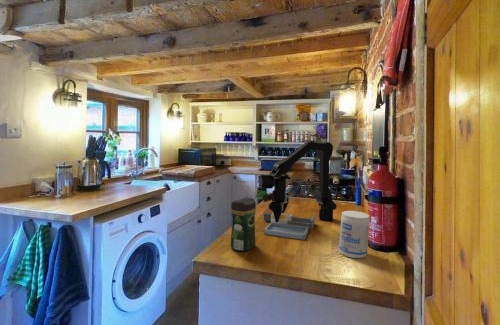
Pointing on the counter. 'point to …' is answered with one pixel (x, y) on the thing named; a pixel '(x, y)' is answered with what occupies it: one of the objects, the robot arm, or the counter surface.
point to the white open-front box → (279, 219)
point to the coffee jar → (243, 224)
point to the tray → (286, 230)
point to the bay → (302, 222)
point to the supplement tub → (354, 234)
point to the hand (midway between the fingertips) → (279, 219)
